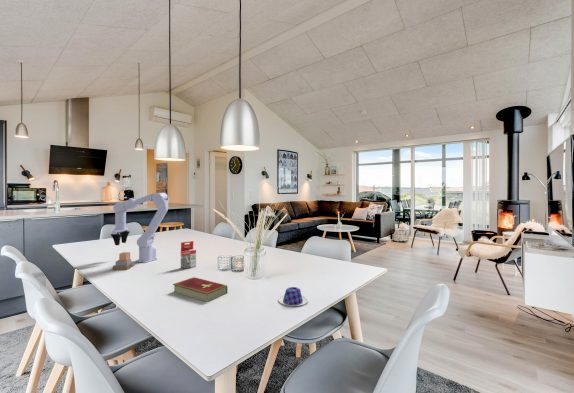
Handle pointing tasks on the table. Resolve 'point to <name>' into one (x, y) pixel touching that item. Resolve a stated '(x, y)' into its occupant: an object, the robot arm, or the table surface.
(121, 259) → the cube
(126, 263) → the top block
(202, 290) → the hardcover book
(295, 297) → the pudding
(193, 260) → the ink box
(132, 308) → the table surface
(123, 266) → the base block
